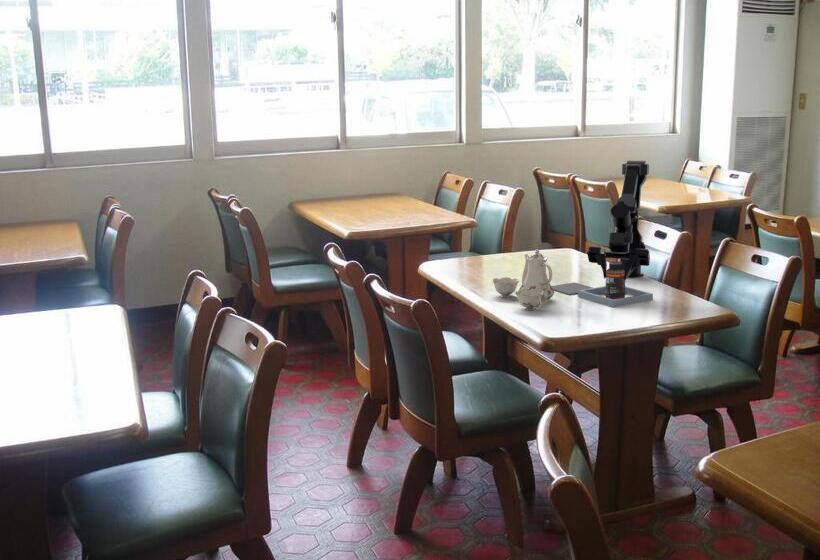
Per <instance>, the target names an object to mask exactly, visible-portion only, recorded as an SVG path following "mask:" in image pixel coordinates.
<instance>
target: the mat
mask: <svg viewBox="0 0 820 560" xmlns="http://www.w3.org/2000/svg"><path fill="white" fill-rule="evenodd" d="M551 287H552V288H553V290H554V292H558V293H561V294H563V295H567V296H572V295H573V294H574V295H578V290H584V289H590V288H594V287H591V286H589V285H585V284H582V283H578V282H569V283H568V282H567V283H563V284H562V283H561V284H555V285H551Z"/></svg>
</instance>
